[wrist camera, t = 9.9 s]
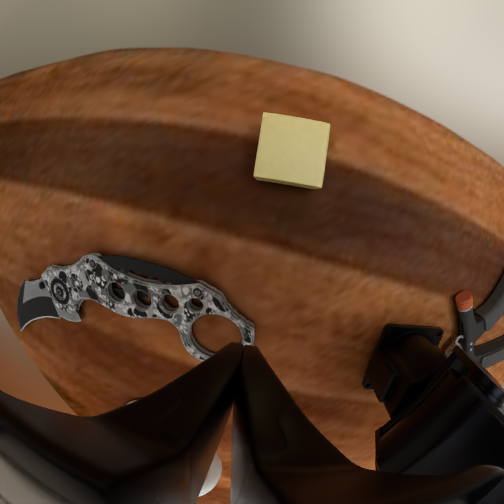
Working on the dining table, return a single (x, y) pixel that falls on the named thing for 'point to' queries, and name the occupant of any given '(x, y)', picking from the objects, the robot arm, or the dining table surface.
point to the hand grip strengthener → (480, 326)
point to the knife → (126, 296)
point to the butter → (292, 151)
